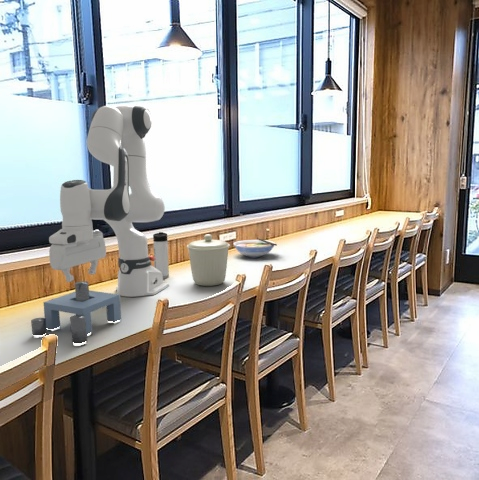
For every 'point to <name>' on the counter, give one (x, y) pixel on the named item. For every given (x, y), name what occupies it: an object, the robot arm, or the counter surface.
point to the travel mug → (161, 253)
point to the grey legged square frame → (82, 308)
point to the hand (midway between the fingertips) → (81, 277)
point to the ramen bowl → (254, 247)
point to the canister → (208, 260)
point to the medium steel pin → (78, 328)
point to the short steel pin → (38, 326)
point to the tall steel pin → (82, 291)
